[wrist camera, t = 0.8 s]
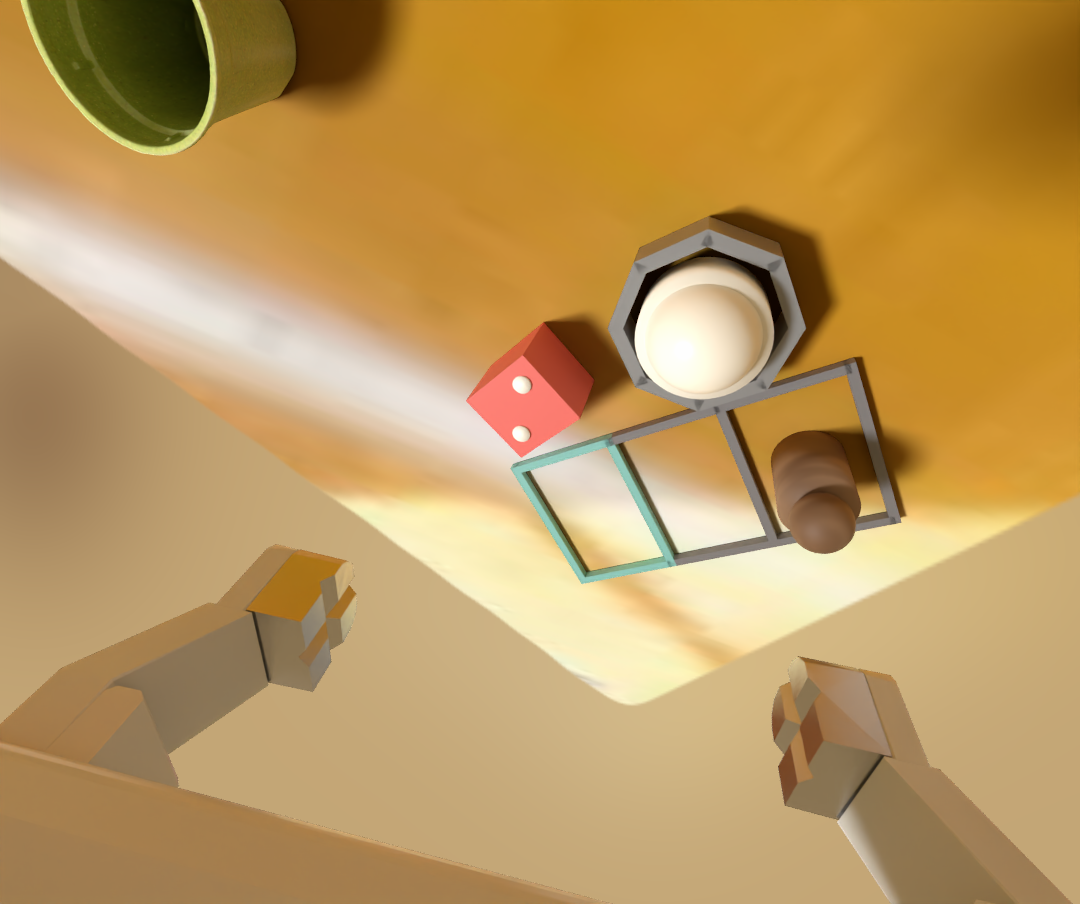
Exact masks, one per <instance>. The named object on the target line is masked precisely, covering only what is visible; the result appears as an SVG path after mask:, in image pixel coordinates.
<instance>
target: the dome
mask: <svg viewBox="0 0 1080 904" xmlns="http://www.w3.org/2000/svg"><path fill="white" fill-rule="evenodd" d="M773 341H774V326H773V320H772V315H771V310H770V305H769V301H768V297H767V294H766V292H765V289H764V288H763V286H762V284H761V283H760V281H759V280H758V279H757V278H756V276H755V275H754V274H752V273H751V272H750V271H749V270H748V269H746V268H745V267H743V266H742V265H740V264H738V263H736V262H733V261H730V260H727V259H723V258H717V257H700V258H694V259H690V260H687V261H684V262H681V263H679V264H677V265H675V266H673V267H671V268H670V269H668V270H667V271H666V272H664V273H663V274H662V275H661V276H660V277H659V278H658V279H657V280H656V281H655V282H654V283H653V285H652V286H651V288H650V289H649V290H648V292H647V294H646V296H645V299H644V301H643V304H642V308H641V311H640V314H639V318H638V321H637V325H636V330H635V349H636V353H637V357H638V359H639V362H640V364H641V366H642V368H643V370H644V371H645V372H646V374H647V375H648V376H649V377H650V378H651V379H652V380H653V382H655V383H656V384H657V385H658V386H660V387H661V388H663V389H664V390H666V391H668V392H670V393H672V394H675V395H678V396H681V397H685V398H690V399H711V398H717V397H721V396H725V395H728V394H730V393H733V392H735V391H737V390H739V389H741V388H742V387H744V386H745V385H747V384H748V383H749V382H750V381H751V380H753V379H754V378H755V377H756V376H757V375H758V373H759V372H760V371H761V370H762V368H763V367H764V365H765V364H766V362H767V360H768V358H769V356H770V353H771V350H772V346H773Z"/></svg>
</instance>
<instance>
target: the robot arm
mask: <svg viewBox="0 0 1080 904" xmlns="http://www.w3.org/2000/svg"><path fill="white" fill-rule="evenodd" d="M353 578H354V569H353V564H352V563H351V562H349V561H346V560H342V559H337V558H333V557H329V556H325V555H321V554H317V553H312V552H308V551H304V550H298V549H294V548H290V547H286V546H281V545H277V544H275V545H273V546H271V547H269V548H268V549H266V550H265V551H264V552H263V554H262V555H261V556H260V557H259V558H258V559H257V560H256V561H255V562H254V563H253V565H252V566H251V567H250V568H249V569H248V570H247V571H246V572H245V573H244V575H242V577H241V578H240V579H239V580H238V581H237V582H236V583H235V584H234V585H233V586H232V588H231V589H230V590H229V591H228V592H227V593H226V594H225V595H224V596H223V597H222V599H221V600H220V601H219V602H218V603H217V604H213V603H207V604H205V605H202V606H200V607H198V608H196V609H193V610H191V611H189V612H187V613H185V614H182V615H180V616H178V617H175V618H173V619H171V620H169V621H166V622H164V623H162V624H160V625H157V626H155V627H153V628H151V629H148V630H146V631H144V632H141V633H139V634H137V635H135V636H132V637H130V638H128V639H126V640H124V641H121V642H119V643H117V644H114V645H112V646H110V647H108V648H105V649H103V650H101V651H98V652H96V653H94V654H92V655H90V656H87V657H85V658H83V659H81V660H78V661H76V662H74V663H71V664H69V665H67V666H65V667H62V668H61V669H59V670H58V671H57V672H56V673H55V674H54V675H53V676H52V677H51V678H50V679H49V680H48V681H47V682H45V683H44V684H43V685H42V686H41V687H40V688H39V689H38V690H37V691H36V692H35V693H33V694H32V695H31V696H30V697H29V698H28V699H27V700H26V701H25V702H24V703H23V704H22V705H20V706H19V708H17V709H16V710H15V711H14V712H13V713H12V714H11V715H10V716H9V717H8V718H6V719H5V720H4V721H3V722H2V723H1V724H0V904H611V903H607V902H604V901H600V900H596V899H592V898H589V897H585V896H581V895H578V894H574V893H570V892H566V891H563V890H559V889H555V888H551V887H548V886H544V885H540V884H537V883H533V882H529V881H526V880H522V879H518V878H514V877H511V876H506V875H503V874H499V873H496V872H492V871H488V870H484V869H480V868H477V867H473V866H469V865H466V864H462V863H458V862H454V861H451V860H447V859H443V858H439V857H436V856H432V855H428V854H424V853H421V852H417V851H413V850H409V849H406V848H402V847H398V846H394V845H390V844H387V843H383V842H379V841H376V840H372V839H368V838H365V837H361V836H357V835H353V834H350V833H346V832H342V831H338V830H335V829H330V828H327V827H323V826H320V825H315V824H312V823H308V822H305V821H301V820H297V819H293V818H289V817H286V816H282V815H278V814H275V813H271V812H267V811H263V810H260V809H256V808H252V807H248V806H245V805H241V804H237V803H233V802H230V801H226V800H222V799H218V798H215V797H211V796H207V795H204V794H200V793H196V792H192V791H189V790H185V789H181V788H178V777H177V775H176V772H175V770H174V767H173V765H172V763H171V760H170V758H169V755H168V754H169V753H171V752H172V751H174V750H175V749H177V748H178V747H180V746H181V745H183V744H184V743H186V742H187V741H188V740H190V739H191V738H193V737H194V736H195V735H197V734H198V733H200V732H201V731H203V730H204V729H206V728H207V727H209V726H210V725H212V724H213V723H215V722H216V721H217V720H219V719H220V718H222V717H223V716H225V715H226V714H228V713H229V712H230V711H232V710H233V709H235V708H236V707H238V706H239V705H241V704H242V703H243V702H245V701H246V700H248V699H249V698H251V697H252V696H254V695H255V694H256V693H258V692H259V691H261V690H262V689H264V688H265V687H267V686H268V683H273V684H278V685H283V686H288V687H292V688H297V689H302V690H307V691H311V692H313V691H314V689H315V688H316V686H317V684H318V683H319V681H320V679H321V678H322V676H323V675H324V673H325V671H326V670H327V668H328V666H329V665H330V663H331V655H330V650H331V649H333V648H334V647H336V646H338V645H340V644H341V643H343V642H344V640H345V638H346V637H347V635H348V633H349V631H350V629H351V626H352V624H353V621H354V618H355V614H356V607H357V598H356V593H355V592H354V591H353V589H352V588H351V587H350V586H349V584H350V583H351V581H352V580H353ZM788 673H789V678H790V682H788V683H786V684H785V685H782V686H780V687H779V690H778V692H777V694H776V697H775V699H774V704H773V710H772V731H773V738H774V742H775V743H776V745H777V746H778V747H779V749H780V750H781V751H782V752H783V754H784V756H783V758H782V760H781V762H780V764H779V766H778V769H779V775H780V780H781V787H782V792H783V798H784V804H785V806H788V807H792V808H796V809H800V810H803V811H807V812H811V813H814V814H818V815H822V816H826V817H829V818H833V819H837V820H839V821H838V822H837V823H838V824H839V826H840V827H841V829H842V830H843V832H844V833H845V835H846V836H847V838H848V840H849V841H850V843H851V844H852V846H853V847H854V848H855V850H856V852H857V853H858V855H859V856H860V858H861V859H862V861H863V862H864V864H865V865H866V867H867V868H868V870H869V871H870V873H871V874H872V876H873V877H874V879H875V881H876V882H877V884H878V885H879V886H880V888H881V890H882V891H883V893H884V894H885V896H886V897H887V899H888V900H889V902H890V903H891V904H1072V903H1071V902H1070V901H1069V900H1068V899H1067V898H1066V897H1065V896H1064V895H1063V894H1062V893H1061V892H1060V891H1059V890H1058V888H1057V887H1055V885H1054V884H1053V883H1052V882H1051V881H1050V880H1049V879H1048V878H1047V877H1046V876H1045V875H1044V874H1043V873H1042V872H1041V871H1040V870H1039V869H1038V868H1037V867H1036V866H1035V865H1034V864H1033V863H1032V862H1031V861H1030V860H1029V859H1028V858H1027V857H1026V856H1025V855H1024V854H1023V853H1022V852H1021V851H1020V850H1019V849H1018V848H1017V847H1016V846H1015V845H1014V844H1013V843H1012V842H1011V841H1010V840H1009V839H1008V838H1007V837H1006V836H1005V835H1004V834H1003V833H1002V832H1001V831H1000V830H999V829H998V828H997V827H996V826H995V825H994V824H993V823H992V822H991V821H990V820H989V819H988V818H987V817H986V815H985V814H984V813H983V812H981V810H980V809H979V808H978V807H977V806H975V804H974V803H973V802H972V801H971V800H970V799H969V798H968V797H967V796H966V795H965V794H964V793H963V792H962V791H961V790H960V789H959V788H958V787H957V786H956V785H955V784H954V783H953V782H952V781H951V780H950V779H949V778H948V777H947V776H946V775H945V774H944V773H943V772H942V771H941V770H940V769H937V768H933V767H930V765H929V763H928V761H927V758H926V755H925V753H924V751H923V748H922V746H921V743H920V740H919V738H918V736H917V733H916V731H915V728H914V726H913V723H912V721H911V718H910V716H909V713H908V711H907V708H906V706H905V703H904V701H903V698H902V696H901V693H900V691H899V688H898V686H897V683H896V681H895V680H894V679H893V678H892V677H891V675H887V674H882V673H877V672H872V671H867V670H862V669H856V668H853V667H848V666H843V665H838V664H833V663H828V662H824V661H819V660H814V659H809V658H804V657H799V656H798V657H797V658H795V659H794V660H793V661H792V663H791V665H790V667H789V669H788Z"/></svg>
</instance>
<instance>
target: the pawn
mask: <svg viewBox="0 0 1080 904" xmlns="http://www.w3.org/2000/svg"><path fill="white" fill-rule="evenodd" d="M771 466H772V473H773V481H774V489H775V496H776V504H777V512H778V516H779V518H780V520H781V522H782V523H783V524H784V525H785V526H786V527H787V528H788V529H790V532H791V534H792V536H793V538H794V539H795V540H796V542H797V543H798V544H799V545H801V546H802V547H803V548H805V549H807V550H809V551H811V552H815V553H821V554H828V553H833V552H836V551H839V550H841V549H842V548H844V547H845V546H846V545H847V544H848V543H849V542H850V541H851V539H852V538H853V536H854V533H855V529H856V519H857V518H858V516H859V514H860V510H861V502H860V498H859V495H858V492H857V488H856V485H855V482H854V479H853V476H852V473H851V469H850V466H849V463H848V460H847V457H846V454H845V451H844V448H843V446H842V445H841V443H840V442H839V441H838V440H837V439H836V438H834V437H833V436H831V435H829V434H827V433H824V432H819V431H802V432H798V433H795V434H792V435H790V436H788V437H786V438H785V439H783V440H782V441H781V442H780V443H779V444H778V445H777V446H776V447H775V449H774V451H773V453H772V457H771Z"/></svg>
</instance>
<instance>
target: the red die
mask: <svg viewBox="0 0 1080 904" xmlns="http://www.w3.org/2000/svg"><path fill="white" fill-rule="evenodd" d="M593 382H594V379H593V378H592V377H591V375H590V374H589V373H588V372H587V371H586V370H585V369H584V368H583V366H582V365H581V364H580V363H579V362H578V361H577V360H576V358H575V357H574V356H573V355H572V354H571V353H570V352H569V350H568V349H567V348H566V347H565V346H564V345H563V344H562V342H561V341H560V340H559V339H558V338H557V337H556V336H555V335H554V333H553V332H552V331H551V330H550V329H549V328H548V327H547V325H546V324H545V323H544V322H543V323H542V324H541V325H540V326H539V327H537V328H536V329H535V330H534V331H532V332H531V333H530V334H529V335H528V336H526V337H525V338H524V339H523V340H522V341H520V342H519V343H518V344H517V345H515V346H514V347H513V348H512V349H511V350H509V351H508V352H507V353H506V354H504V355H503V356H502V357H501V358H500V359H498V360H497V361H496V362H495V363H494V364H492V365H491V366H490V368H489V369H488V371H487V372H486V373H485V375H484V376H483V378H482V379H481V380H480V382H479V383H478V385H477V386H476V387H475V389H474V390H473V392H472V393H471V394H470V396H469V397H468V399H467V400H466V401H467V402H468V403H469V404H470V406H471V407H472V408H473V409H474V410H475V411H476V412H477V413H478V414H479V415H480V416H481V417H482V418H483V419H484V420H485V421H486V422H487V423H488V424H489V425H490V426H491V427H492V428H493V429H494V430H495V431H496V432H497V433H498V434H499V435H500V436H501V437H502V438H503V439H504V440H505V441H506V442H507V443H508V444H509V446H510V447H511V448H512V449H513V450H514V451H515V452H516V453H517V454H518V455H519V456H520V457H521V458H522V457H523V456H525V455H526V454H528V453H529V452H531V451H532V450H533V449H535V448H536V447H538V446H539V445H541V444H542V443H544V442H545V441H547V440H548V439H550V438H551V437H553V436H554V435H556V434H557V433H559V432H560V431H562V430H563V429H565V428H566V427H568V426H569V425H571V424H572V423H574V422H575V421H577V420H578V419H580V417H581V415H582V412H583V409H584V407H585V404H586V401H587V398H588V396H589V393H590V390H591V388H592V385H593Z"/></svg>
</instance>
